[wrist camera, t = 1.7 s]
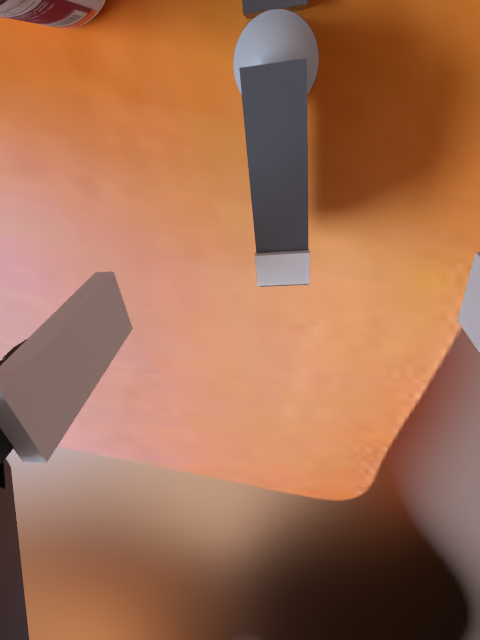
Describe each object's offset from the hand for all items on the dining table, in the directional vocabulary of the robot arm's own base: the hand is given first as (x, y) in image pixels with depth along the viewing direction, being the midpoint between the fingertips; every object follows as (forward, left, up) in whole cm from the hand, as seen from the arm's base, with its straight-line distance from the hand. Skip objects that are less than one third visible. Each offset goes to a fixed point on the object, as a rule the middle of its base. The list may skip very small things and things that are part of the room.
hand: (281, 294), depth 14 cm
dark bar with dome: (-4, 0, -12) cm, 12 cm away
